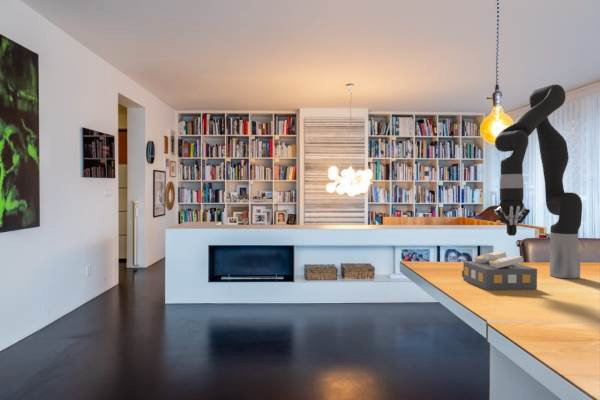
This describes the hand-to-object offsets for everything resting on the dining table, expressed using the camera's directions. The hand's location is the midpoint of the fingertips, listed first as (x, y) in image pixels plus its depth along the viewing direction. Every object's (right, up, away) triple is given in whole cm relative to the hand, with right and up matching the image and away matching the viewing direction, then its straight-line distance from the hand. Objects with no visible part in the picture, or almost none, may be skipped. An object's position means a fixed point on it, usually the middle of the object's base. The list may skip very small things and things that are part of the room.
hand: (511, 235), depth 144 cm
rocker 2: (-4, -10, -5) cm, 11 cm away
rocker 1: (-5, -9, 0) cm, 10 cm away
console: (-5, -18, 0) cm, 18 cm away
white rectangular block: (-5, -9, +5) cm, 12 cm away
